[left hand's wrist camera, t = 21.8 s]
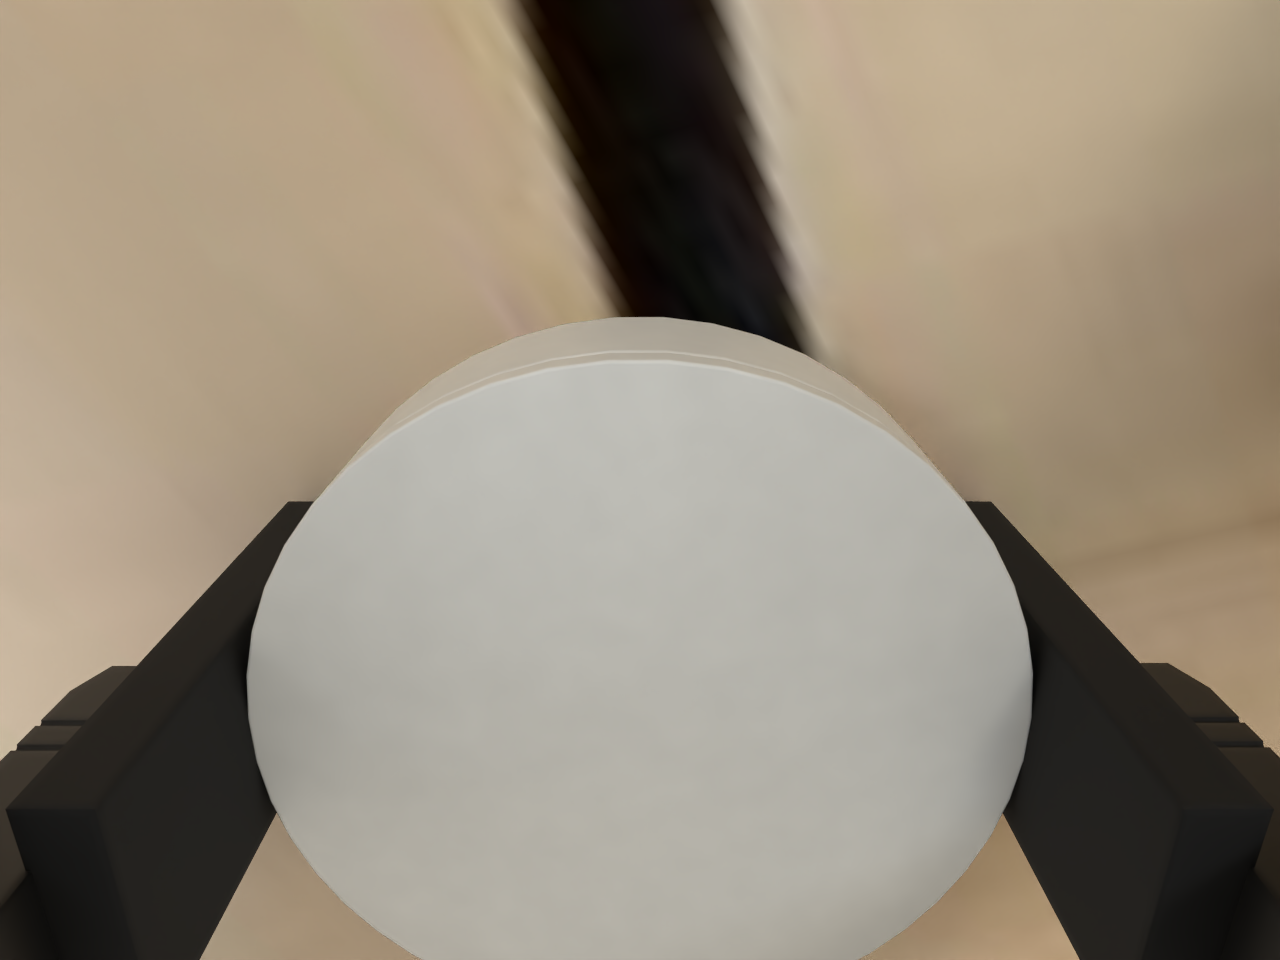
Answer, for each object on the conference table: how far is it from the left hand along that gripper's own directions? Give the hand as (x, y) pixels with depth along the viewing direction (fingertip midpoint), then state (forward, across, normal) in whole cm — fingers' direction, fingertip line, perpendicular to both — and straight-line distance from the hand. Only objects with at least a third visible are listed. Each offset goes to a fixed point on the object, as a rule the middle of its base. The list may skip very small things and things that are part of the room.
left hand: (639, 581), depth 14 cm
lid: (-3, 0, 0) cm, 3 cm away
